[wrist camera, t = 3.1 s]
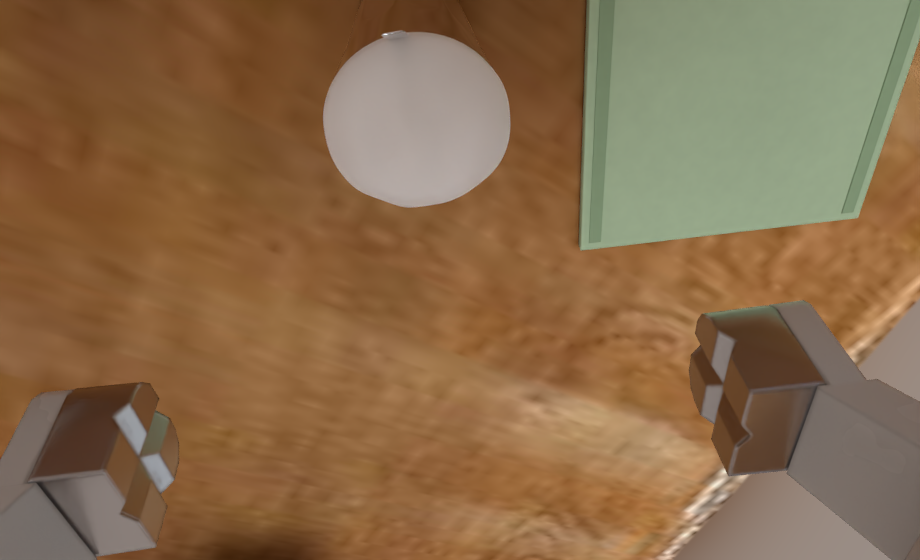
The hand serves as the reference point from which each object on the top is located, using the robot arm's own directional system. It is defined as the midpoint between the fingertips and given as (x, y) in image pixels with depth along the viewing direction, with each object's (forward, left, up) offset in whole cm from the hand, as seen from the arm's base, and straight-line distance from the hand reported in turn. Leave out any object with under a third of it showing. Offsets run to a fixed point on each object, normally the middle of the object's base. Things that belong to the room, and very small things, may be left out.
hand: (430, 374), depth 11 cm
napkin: (+3, +12, -16) cm, 21 cm away
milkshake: (0, 0, -17) cm, 17 cm away
